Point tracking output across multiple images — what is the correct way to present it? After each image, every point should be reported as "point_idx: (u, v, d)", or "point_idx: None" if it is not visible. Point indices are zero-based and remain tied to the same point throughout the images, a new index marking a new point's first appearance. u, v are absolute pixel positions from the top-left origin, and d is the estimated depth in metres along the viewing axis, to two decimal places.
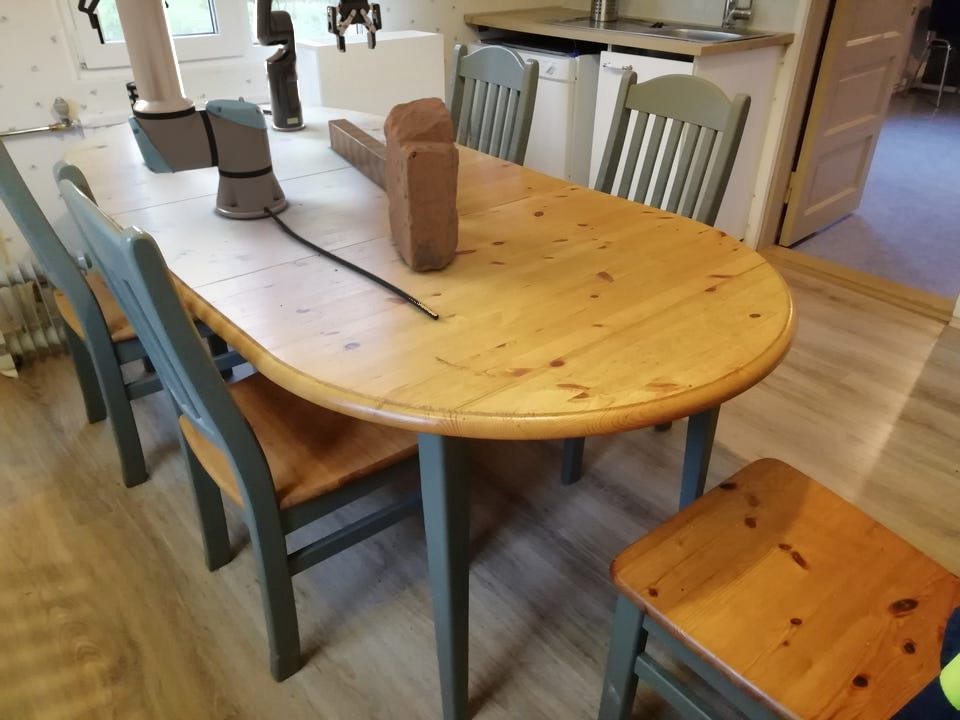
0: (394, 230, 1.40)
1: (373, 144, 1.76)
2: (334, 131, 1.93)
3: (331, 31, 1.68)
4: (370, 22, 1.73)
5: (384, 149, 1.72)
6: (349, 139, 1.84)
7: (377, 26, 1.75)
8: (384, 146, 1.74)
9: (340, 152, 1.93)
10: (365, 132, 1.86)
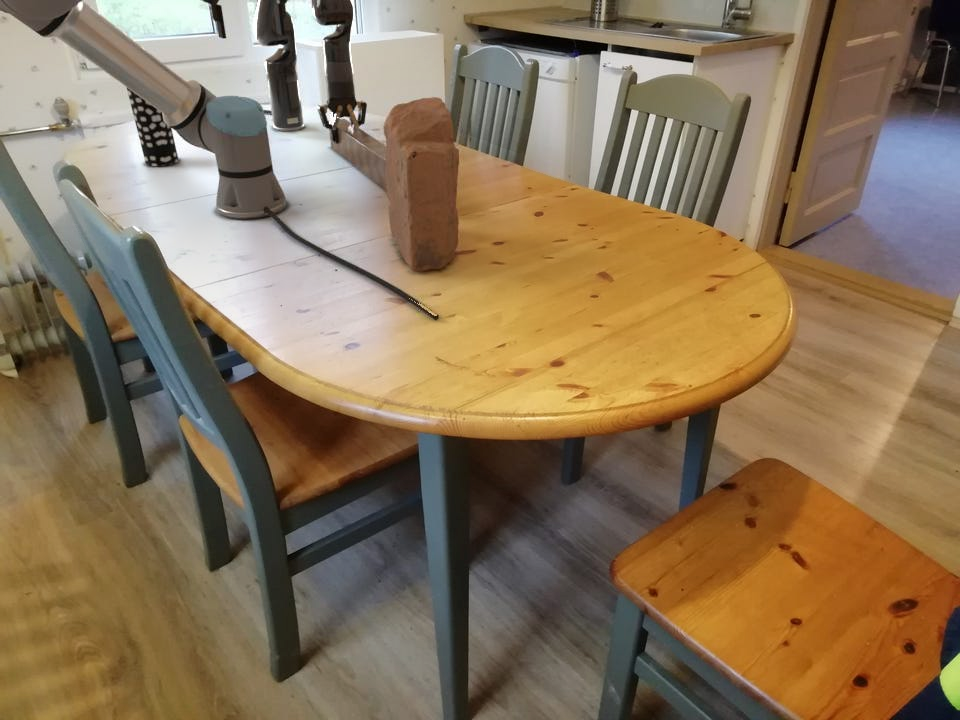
0: (394, 230, 1.40)
1: (373, 144, 1.76)
2: None
3: (325, 126, 1.90)
4: (354, 117, 1.91)
5: (384, 149, 1.72)
6: (349, 139, 1.84)
7: (360, 121, 1.93)
8: (384, 146, 1.74)
9: (340, 152, 1.93)
10: (365, 132, 1.86)
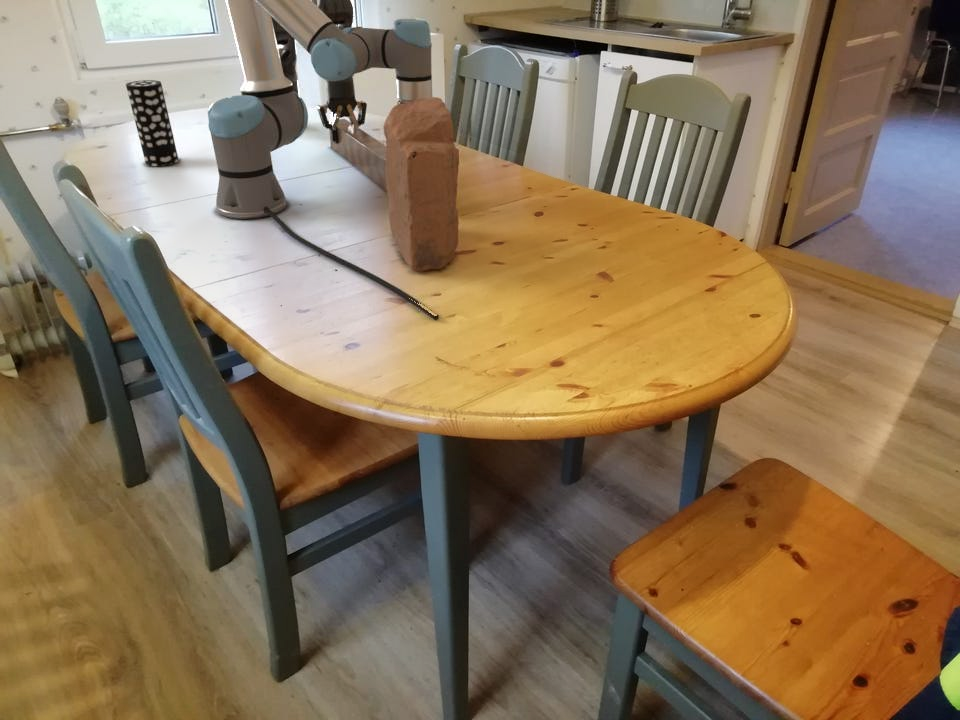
0: (394, 230, 1.40)
1: (373, 144, 1.76)
2: None
3: (325, 126, 1.90)
4: (354, 117, 1.91)
5: (384, 149, 1.72)
6: (349, 139, 1.84)
7: (360, 121, 1.93)
8: (384, 146, 1.74)
9: (340, 151, 1.93)
10: (365, 132, 1.86)
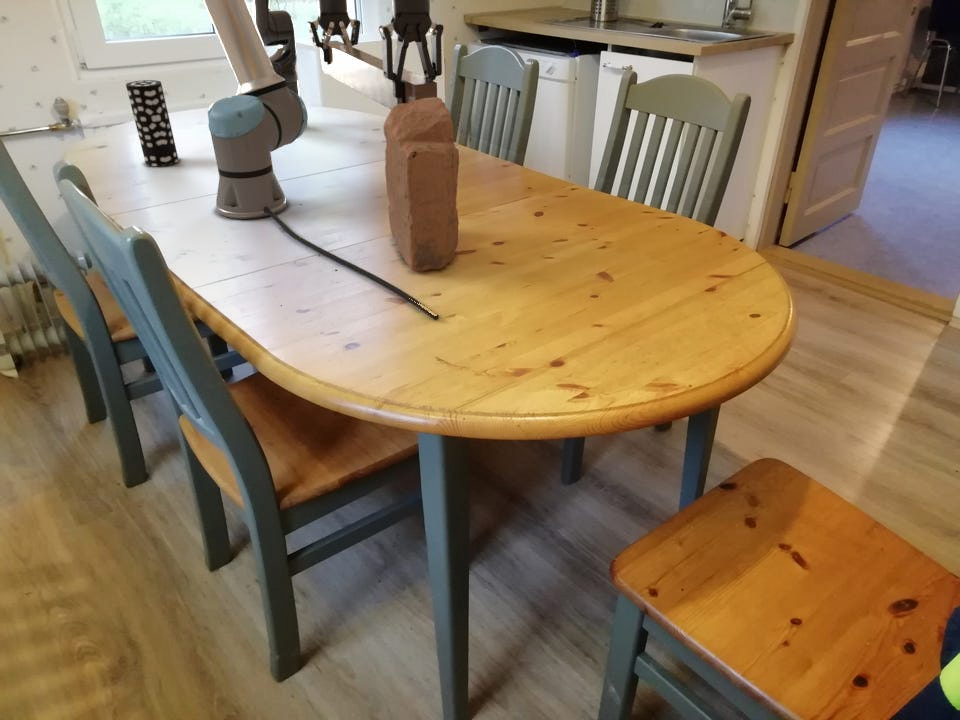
0: (394, 230, 1.40)
1: (366, 57, 1.65)
2: None
3: (315, 45, 1.79)
4: (347, 36, 1.80)
5: (378, 61, 1.61)
6: (341, 56, 1.73)
7: (353, 41, 1.82)
8: (378, 59, 1.63)
9: (332, 73, 1.82)
10: None
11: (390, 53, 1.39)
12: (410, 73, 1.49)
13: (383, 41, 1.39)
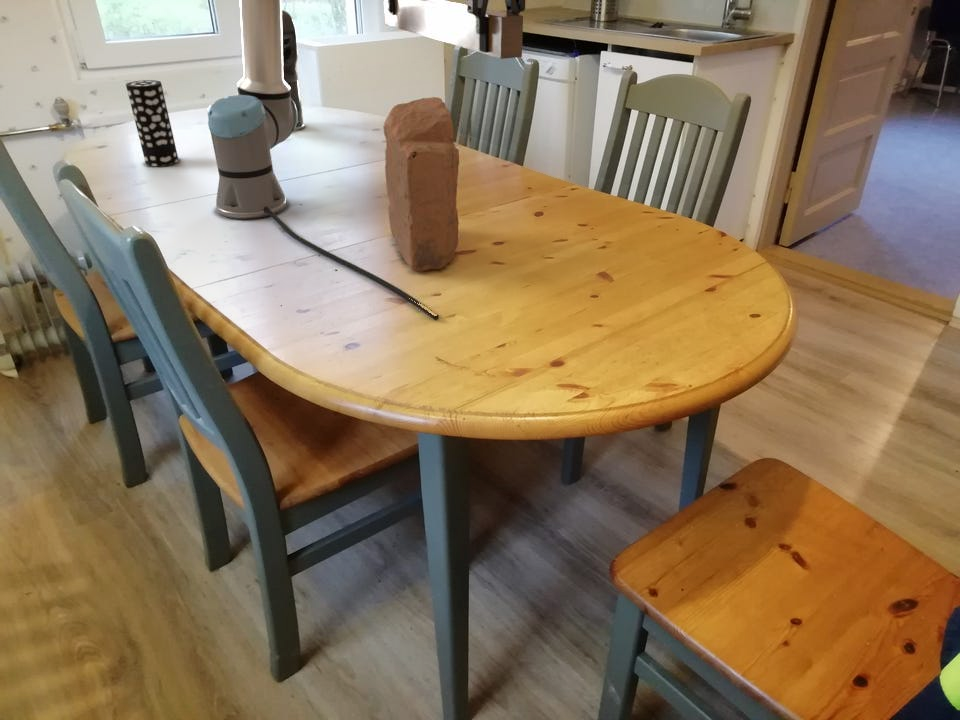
0: (394, 230, 1.40)
1: (439, 1, 1.62)
2: None
3: None
4: None
5: (452, 3, 1.58)
6: (409, 3, 1.70)
7: None
8: (451, 2, 1.60)
9: (397, 24, 1.79)
10: None
11: None
12: (491, 10, 1.46)
13: None
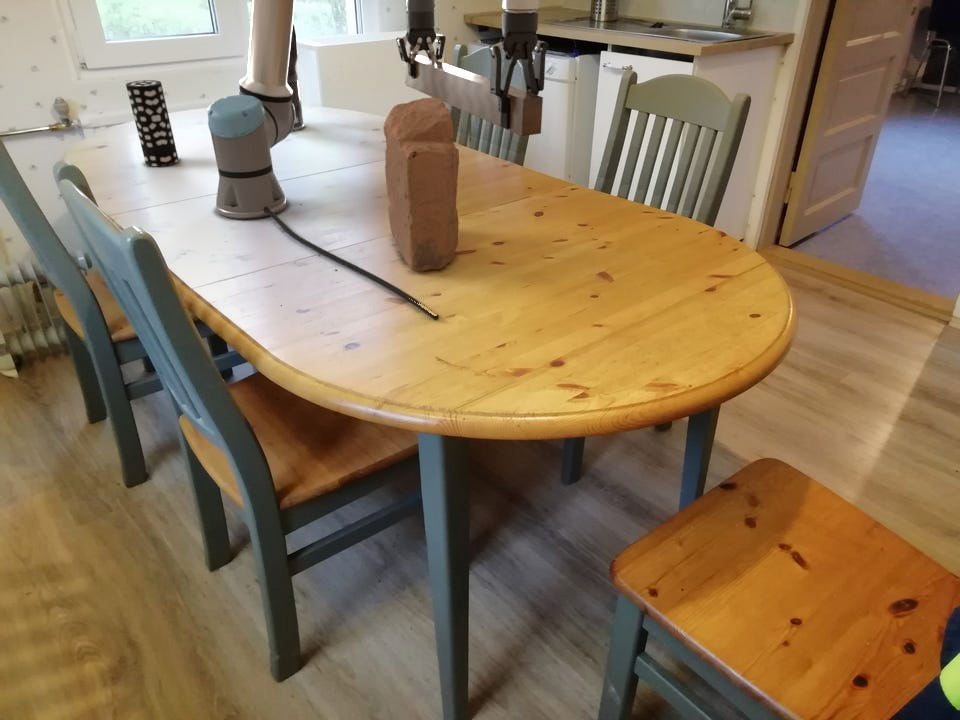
0: (394, 230, 1.40)
1: (460, 72, 1.71)
2: None
3: (403, 60, 1.85)
4: (433, 51, 1.86)
5: (473, 75, 1.67)
6: (430, 70, 1.79)
7: (438, 56, 1.88)
8: (471, 73, 1.70)
9: (418, 87, 1.88)
10: (446, 64, 1.81)
11: (499, 70, 1.45)
12: (511, 88, 1.55)
13: (492, 59, 1.45)
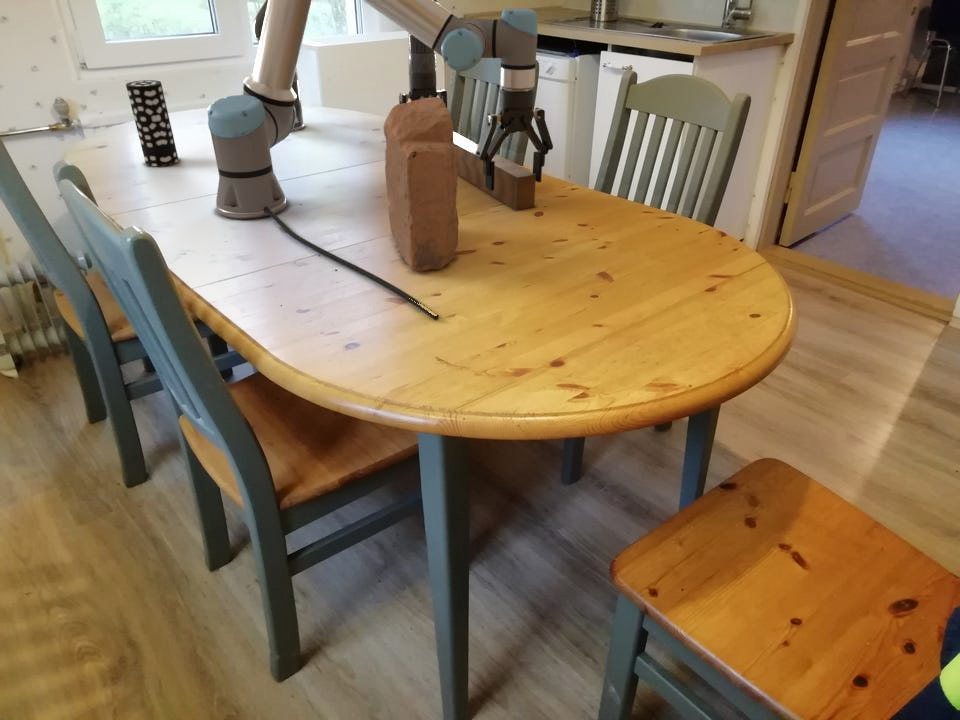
0: (394, 230, 1.40)
1: (458, 139, 1.80)
2: None
3: None
4: None
5: (471, 144, 1.77)
6: None
7: None
8: (470, 141, 1.79)
9: None
10: None
11: (490, 138, 1.52)
12: (507, 161, 1.64)
13: (487, 126, 1.52)
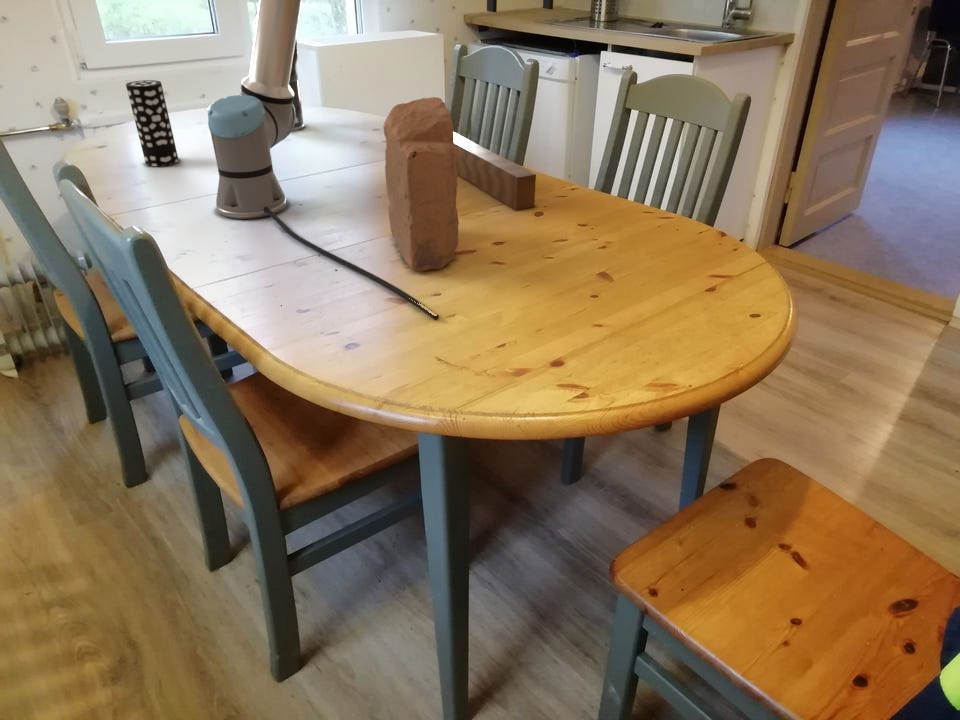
0: (394, 230, 1.40)
1: (458, 139, 1.80)
2: None
3: None
4: None
5: (471, 144, 1.77)
6: None
7: None
8: (470, 141, 1.79)
9: None
10: None
11: None
12: (507, 161, 1.64)
13: None
